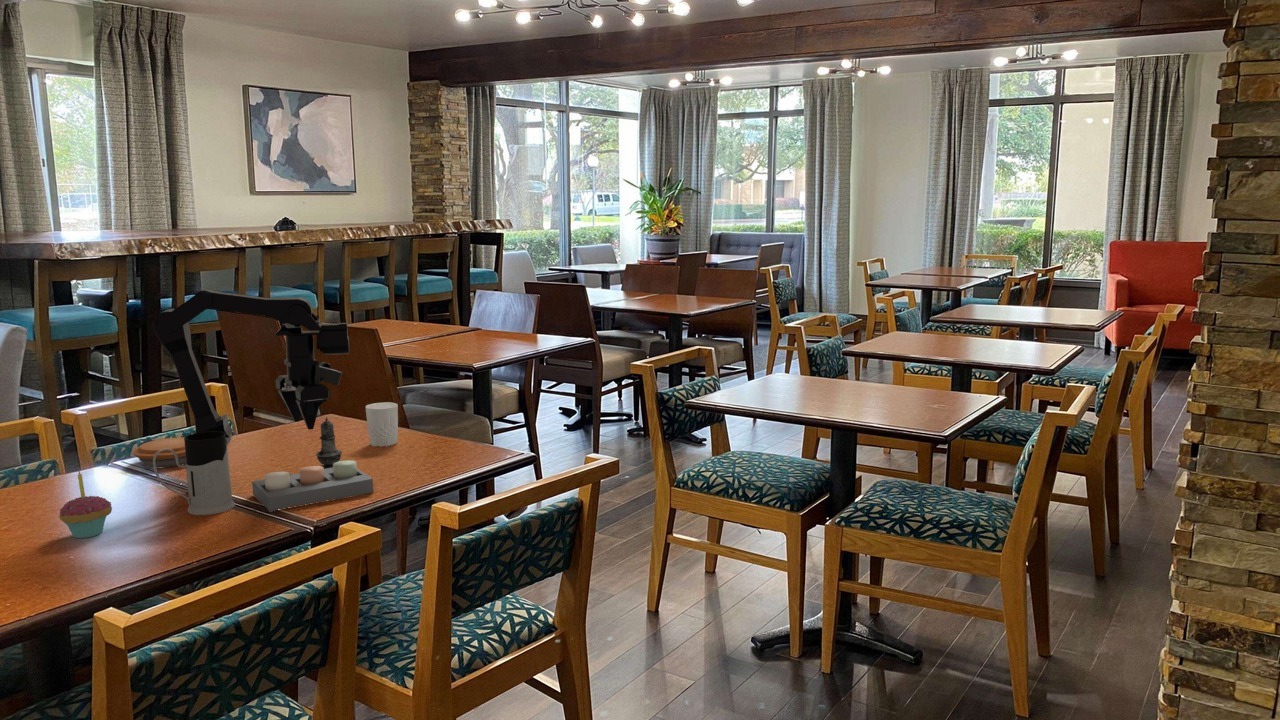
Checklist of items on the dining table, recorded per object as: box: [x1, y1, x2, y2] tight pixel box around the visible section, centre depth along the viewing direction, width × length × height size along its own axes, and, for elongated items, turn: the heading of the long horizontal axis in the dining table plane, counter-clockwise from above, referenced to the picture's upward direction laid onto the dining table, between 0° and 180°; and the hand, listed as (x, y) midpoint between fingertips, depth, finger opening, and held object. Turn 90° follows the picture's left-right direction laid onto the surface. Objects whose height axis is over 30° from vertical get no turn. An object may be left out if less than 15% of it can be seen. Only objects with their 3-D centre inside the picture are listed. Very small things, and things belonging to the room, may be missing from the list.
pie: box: [132, 436, 186, 468], centre depth 222 cm, size 16×16×5 cm
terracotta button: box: [299, 465, 325, 486], centre depth 195 cm, size 5×5×3 cm
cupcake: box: [58, 469, 113, 539], centre depth 172 cm, size 9×8×12 cm
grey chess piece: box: [315, 417, 343, 469], centre depth 214 cm, size 6×6×12 cm
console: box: [251, 468, 374, 513], centre depth 195 cm, size 21×14×3 cm, turn 125°
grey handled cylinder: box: [153, 431, 236, 516], centre depth 184 cm, size 9×14×15 cm, turn 132°
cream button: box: [264, 471, 291, 492], centre depth 191 cm, size 5×5×3 cm
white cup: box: [365, 401, 399, 448], centre depth 236 cm, size 8×8×10 cm
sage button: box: [333, 460, 358, 480], centre depth 199 cm, size 5×5×3 cm
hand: (303, 425), depth 204 cm, fingers open, 9 cm apart
